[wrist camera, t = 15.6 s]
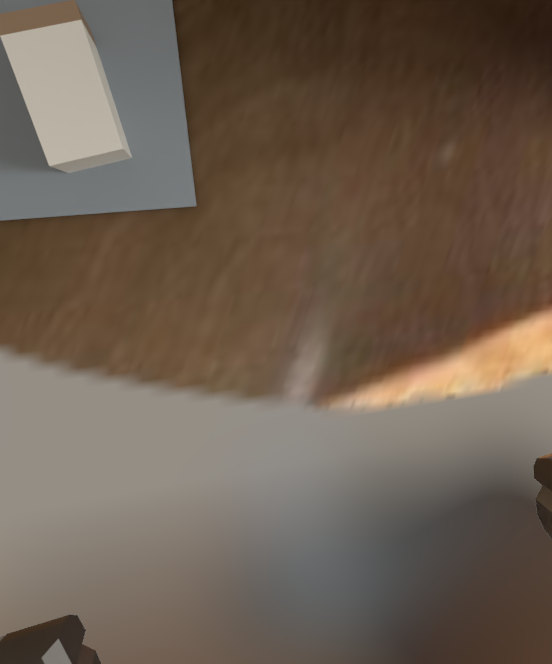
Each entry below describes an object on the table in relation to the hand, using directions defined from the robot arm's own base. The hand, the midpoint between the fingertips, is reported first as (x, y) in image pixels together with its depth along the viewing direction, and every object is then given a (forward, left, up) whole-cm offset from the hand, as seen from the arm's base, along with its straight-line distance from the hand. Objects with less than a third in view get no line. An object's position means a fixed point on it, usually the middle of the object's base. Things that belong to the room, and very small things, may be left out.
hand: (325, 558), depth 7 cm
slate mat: (+8, -13, -29) cm, 33 cm away
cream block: (+7, -10, -26) cm, 29 cm away
